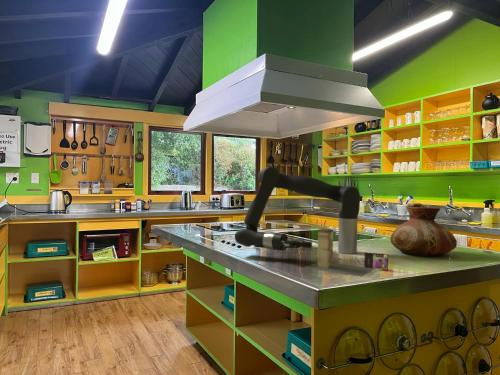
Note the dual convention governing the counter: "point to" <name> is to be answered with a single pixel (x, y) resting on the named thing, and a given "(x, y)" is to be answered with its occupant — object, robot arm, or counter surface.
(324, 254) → the beech block
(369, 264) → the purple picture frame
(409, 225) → the brown clay pot
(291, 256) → the counter surface
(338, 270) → the rubber mat
